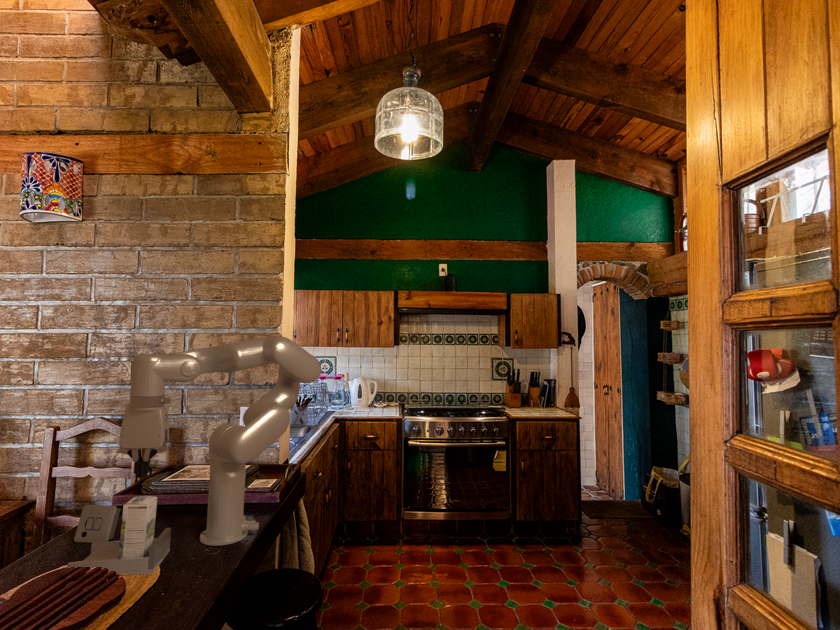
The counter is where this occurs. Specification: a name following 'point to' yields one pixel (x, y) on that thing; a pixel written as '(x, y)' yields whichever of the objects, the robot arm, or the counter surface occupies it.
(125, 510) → the syrup box
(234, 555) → the counter surface
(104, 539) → the electrical switch
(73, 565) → the grey u-shaped piece
